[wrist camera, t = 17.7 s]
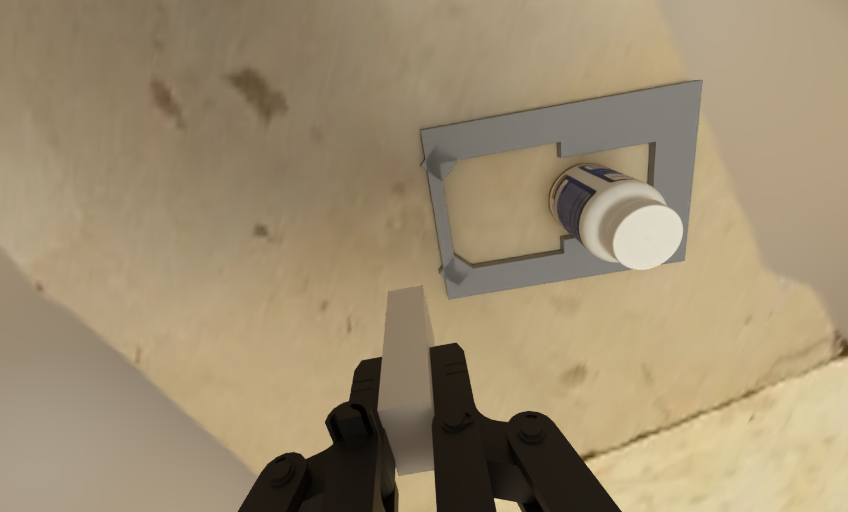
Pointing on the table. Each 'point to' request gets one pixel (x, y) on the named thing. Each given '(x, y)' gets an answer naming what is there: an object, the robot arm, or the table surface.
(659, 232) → the pill bottle
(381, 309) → the table surface
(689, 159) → the keyhole board
